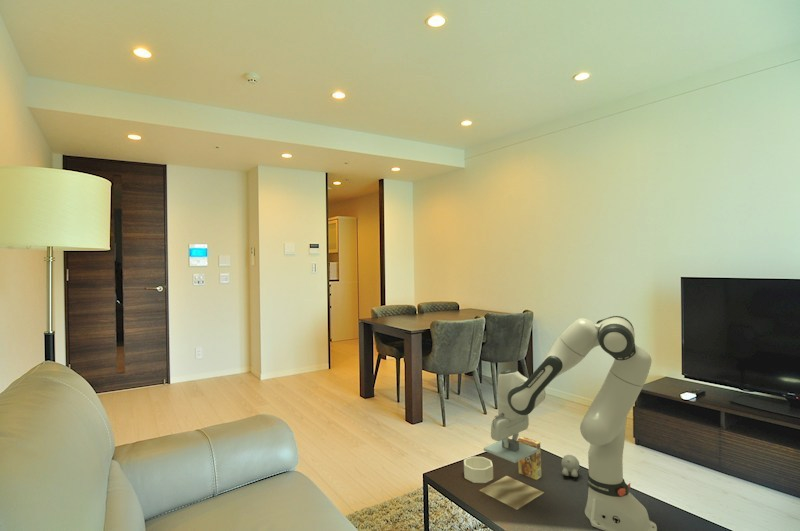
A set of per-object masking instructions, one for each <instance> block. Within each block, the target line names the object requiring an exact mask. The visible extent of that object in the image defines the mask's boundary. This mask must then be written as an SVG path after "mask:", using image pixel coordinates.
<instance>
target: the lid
mask: <svg viewBox="0 0 800 531" xmlns="http://www.w3.org/2000/svg"><path fill="white" fill-rule="evenodd" d="M508 442H509V443H510V447H509V448H505V447H504V442H503V440H501V441H496V442H494V443H492V444H489V445H487V446H485V447H483V451H484V452H486V453H490V454H491V455H494V456H496V457H499V458H501V459H504V460H506V461H509V462H512V463H514V464H516V463H518V461H520V460H522V459H524V458H526V457H528V456H530V455H532V454H534V453H536V452H538V449H537V448H534V447H531V446H529V445H526V444H523V443H520V442H518V440H517V441H515V440H512V438H509V437H508Z"/></svg>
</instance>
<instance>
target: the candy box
mask: <svg viewBox="0 0 800 531" xmlns="http://www.w3.org/2000/svg"><path fill="white" fill-rule="evenodd" d="M517 442H520V443H523V444H526V445H529V446H531V447H534V448H537V449H538V452H536V453H534V454H532V455H530V456H528V457H526V458H524V459H522V460H520V461H518V462H517V464H518V466H517V467H518V474H519V475H523V476H525V477H528V478H529V479H530V478H531V479H533V480H536V481H538V480H539V479H540V478H542V459H541V458H542V456H541V455H542V454H541V442H540V441H538V440H534V439H532V438H528V437H525V436H520V437H519V438H517Z"/></svg>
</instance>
